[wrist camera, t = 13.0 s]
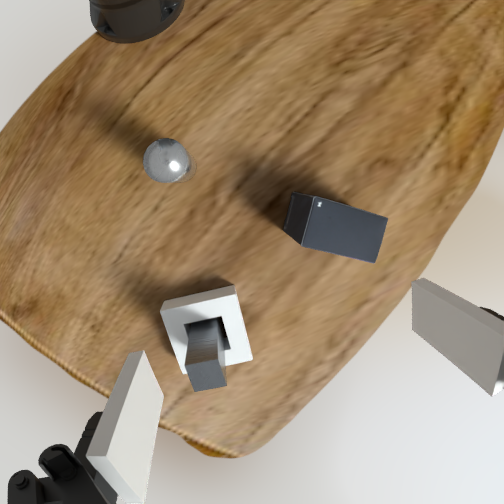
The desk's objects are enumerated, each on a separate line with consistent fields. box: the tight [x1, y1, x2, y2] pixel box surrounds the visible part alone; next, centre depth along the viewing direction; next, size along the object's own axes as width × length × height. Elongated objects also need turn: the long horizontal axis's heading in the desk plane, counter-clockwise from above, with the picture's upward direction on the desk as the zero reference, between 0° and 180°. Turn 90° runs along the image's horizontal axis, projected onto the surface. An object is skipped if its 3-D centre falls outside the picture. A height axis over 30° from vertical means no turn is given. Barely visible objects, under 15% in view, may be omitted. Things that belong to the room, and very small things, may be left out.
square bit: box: [184, 317, 227, 392], centre depth 41 cm, size 4×4×14 cm
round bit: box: [143, 138, 197, 183], centre depth 36 cm, size 4×4×14 cm
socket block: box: [160, 285, 253, 374], centre depth 46 cm, size 11×11×4 cm
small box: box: [283, 191, 388, 263], centre depth 41 cm, size 11×6×10 cm, turn 76°
